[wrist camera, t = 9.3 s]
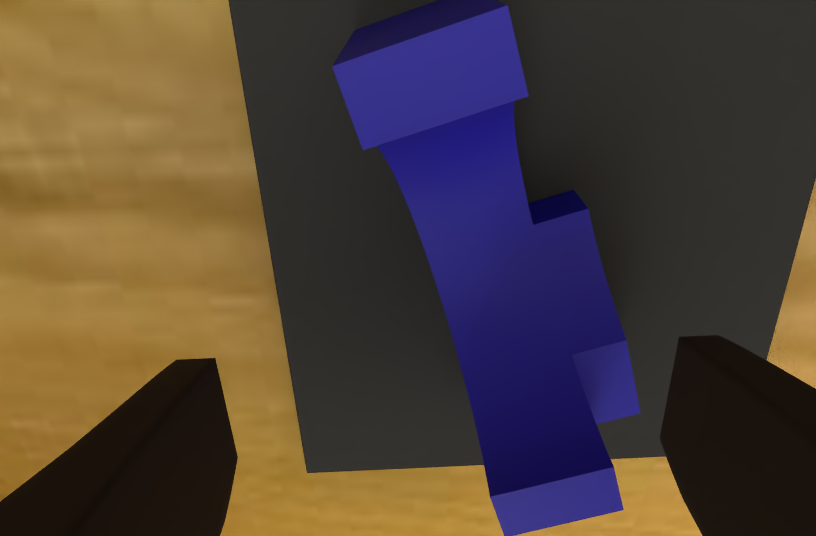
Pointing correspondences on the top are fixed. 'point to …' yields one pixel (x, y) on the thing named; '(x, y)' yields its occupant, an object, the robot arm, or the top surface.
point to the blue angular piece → (498, 256)
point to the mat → (543, 177)
